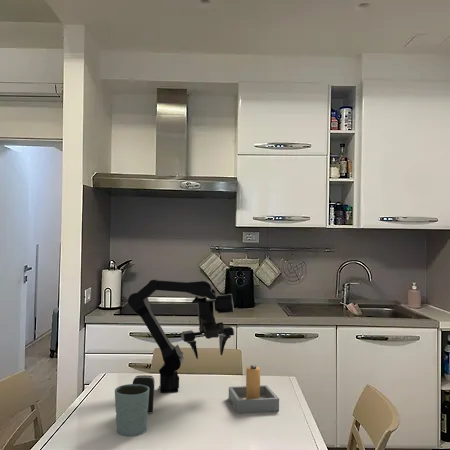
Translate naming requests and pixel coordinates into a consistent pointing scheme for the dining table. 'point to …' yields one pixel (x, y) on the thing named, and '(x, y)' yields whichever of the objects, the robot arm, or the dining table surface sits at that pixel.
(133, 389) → the green cup
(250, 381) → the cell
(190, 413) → the dining table surface
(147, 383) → the battery charger
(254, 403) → the gray square tray
